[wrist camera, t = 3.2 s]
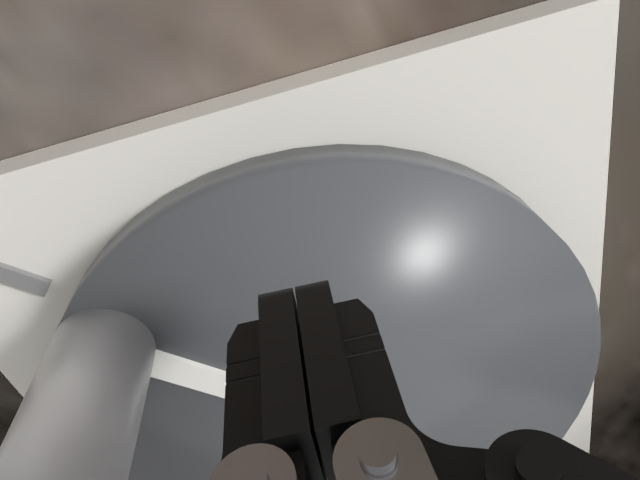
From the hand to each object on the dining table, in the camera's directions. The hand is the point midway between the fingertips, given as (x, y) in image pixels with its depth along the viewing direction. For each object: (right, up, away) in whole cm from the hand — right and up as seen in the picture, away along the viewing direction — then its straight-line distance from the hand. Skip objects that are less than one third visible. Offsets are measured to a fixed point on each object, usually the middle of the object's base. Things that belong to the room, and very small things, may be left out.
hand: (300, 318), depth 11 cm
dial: (+1, -4, +9) cm, 10 cm away
